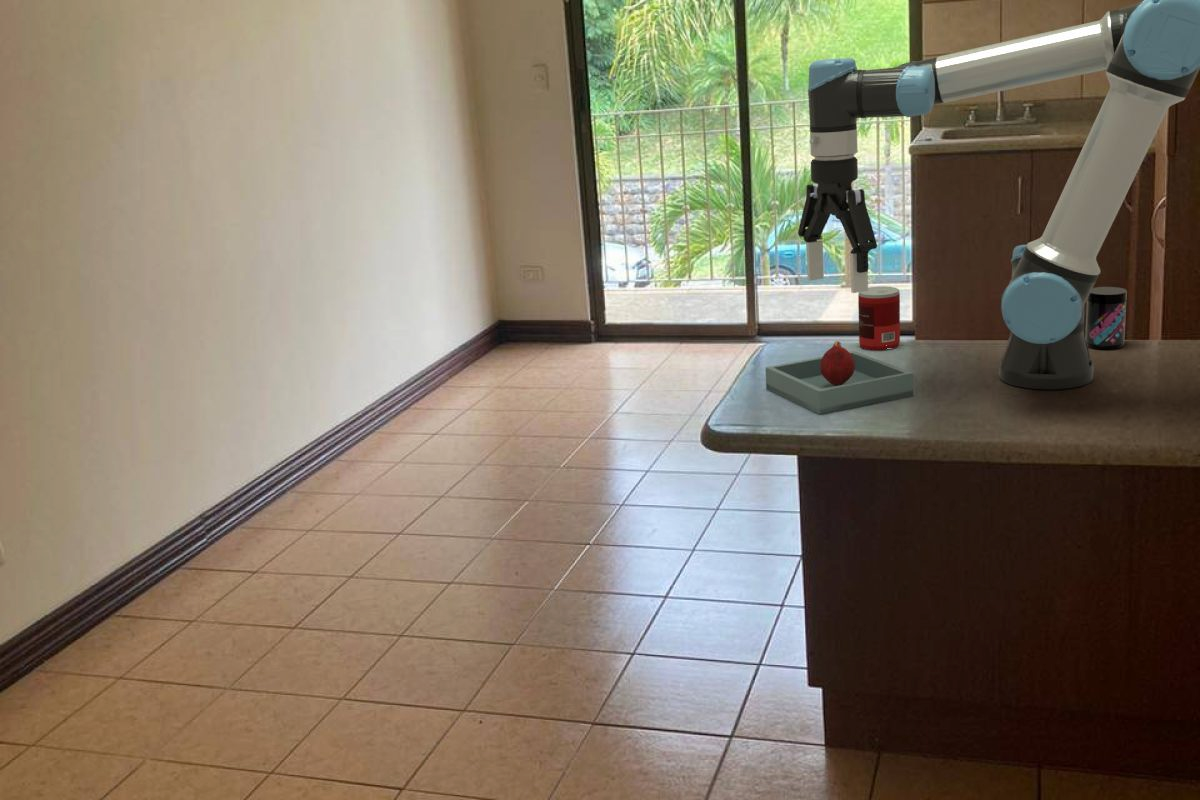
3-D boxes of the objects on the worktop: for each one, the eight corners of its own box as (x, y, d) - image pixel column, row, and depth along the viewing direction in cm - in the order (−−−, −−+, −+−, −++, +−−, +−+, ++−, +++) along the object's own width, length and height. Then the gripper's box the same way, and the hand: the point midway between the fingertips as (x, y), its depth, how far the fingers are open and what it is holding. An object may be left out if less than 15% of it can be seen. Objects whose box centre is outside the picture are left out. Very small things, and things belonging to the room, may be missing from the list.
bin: (913, 396, 203) (913, 373, 202) (819, 414, 197) (819, 391, 196) (854, 372, 219) (853, 351, 218) (766, 389, 213) (765, 367, 212)
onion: (855, 391, 205) (853, 345, 202) (820, 392, 206) (818, 346, 204) (855, 381, 210) (854, 336, 208) (821, 382, 211) (820, 337, 209)
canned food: (905, 342, 237) (905, 287, 234) (891, 352, 230) (891, 295, 227) (867, 339, 241) (867, 285, 238) (853, 349, 234) (852, 293, 231)
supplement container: (1079, 348, 223) (1081, 293, 220) (1092, 339, 228) (1094, 285, 225) (1117, 352, 219) (1119, 295, 216) (1129, 343, 224) (1132, 288, 221)
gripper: (775, 155, 207) (780, 277, 213) (856, 164, 185) (859, 300, 191) (813, 150, 209) (817, 271, 216) (898, 159, 187) (899, 293, 193)
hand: (836, 285), depth 203 cm, fingers open, 13 cm apart
